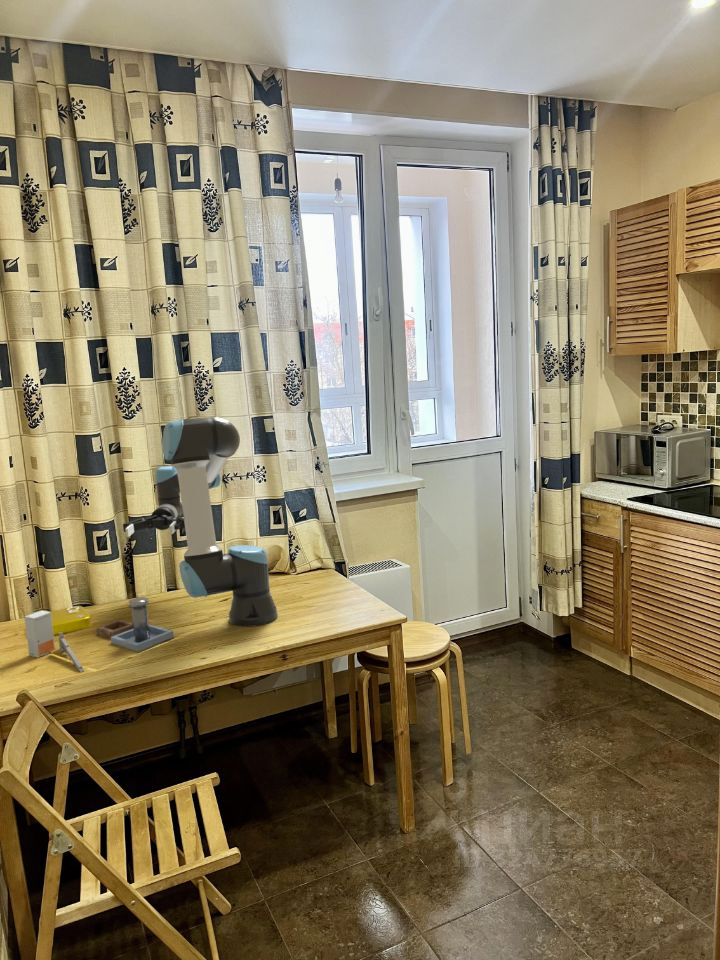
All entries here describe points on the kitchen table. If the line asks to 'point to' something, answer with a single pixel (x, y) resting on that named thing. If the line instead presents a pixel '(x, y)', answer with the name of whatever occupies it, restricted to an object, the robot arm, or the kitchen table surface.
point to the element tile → (70, 620)
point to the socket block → (114, 628)
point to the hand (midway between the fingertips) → (149, 531)
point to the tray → (129, 642)
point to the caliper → (69, 652)
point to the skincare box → (39, 633)
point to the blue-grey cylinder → (140, 618)
